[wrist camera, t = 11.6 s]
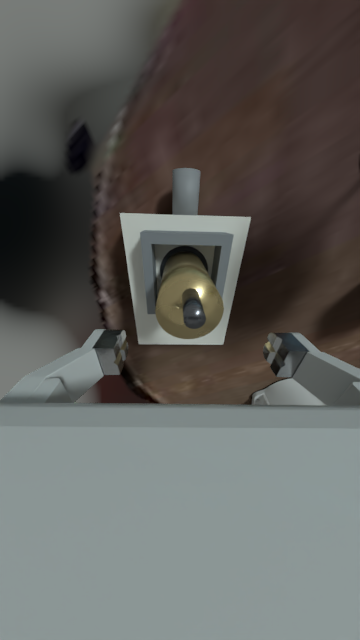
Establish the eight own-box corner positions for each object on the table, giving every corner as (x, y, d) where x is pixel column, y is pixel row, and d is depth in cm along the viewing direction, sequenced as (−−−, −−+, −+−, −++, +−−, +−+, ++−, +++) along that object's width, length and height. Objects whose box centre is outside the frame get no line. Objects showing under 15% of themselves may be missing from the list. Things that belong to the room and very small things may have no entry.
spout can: (201, 291, 22) (228, 368, 11) (164, 291, 22) (152, 368, 11) (205, 251, 19) (246, 299, 8) (163, 250, 19) (145, 298, 8)
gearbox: (215, 324, 32) (228, 357, 25) (144, 323, 32) (134, 357, 24) (240, 179, 20) (279, 157, 13) (128, 175, 20) (99, 149, 12)
